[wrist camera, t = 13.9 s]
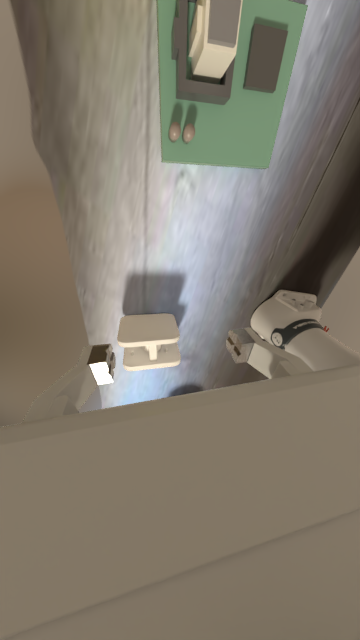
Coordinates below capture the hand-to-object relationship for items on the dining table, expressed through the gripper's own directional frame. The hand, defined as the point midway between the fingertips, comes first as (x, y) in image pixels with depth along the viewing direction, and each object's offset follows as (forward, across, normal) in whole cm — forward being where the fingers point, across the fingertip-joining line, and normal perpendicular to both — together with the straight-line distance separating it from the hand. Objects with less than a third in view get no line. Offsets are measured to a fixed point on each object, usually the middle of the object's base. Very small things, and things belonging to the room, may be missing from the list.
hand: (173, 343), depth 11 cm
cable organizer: (+31, +2, +22) cm, 38 cm away
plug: (+30, -9, -25) cm, 40 cm away
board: (+31, -13, -22) cm, 40 cm away
